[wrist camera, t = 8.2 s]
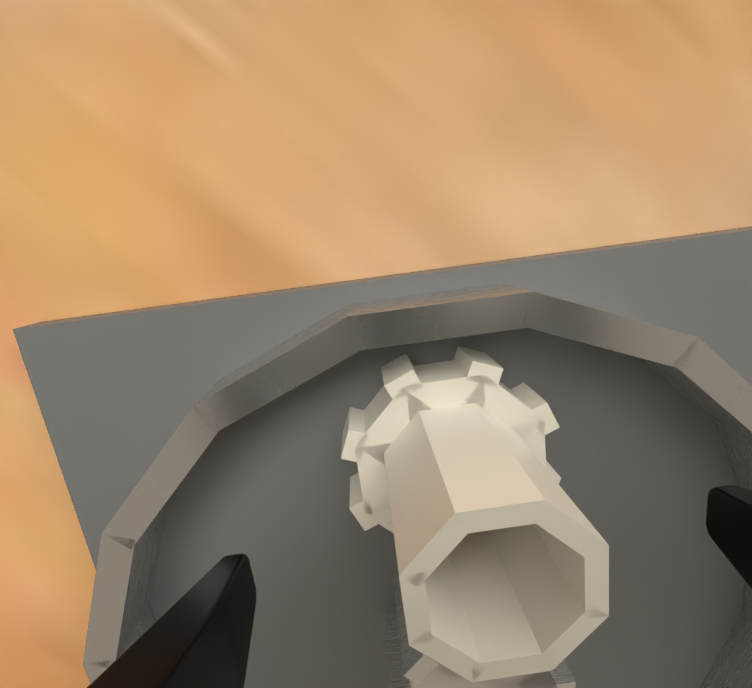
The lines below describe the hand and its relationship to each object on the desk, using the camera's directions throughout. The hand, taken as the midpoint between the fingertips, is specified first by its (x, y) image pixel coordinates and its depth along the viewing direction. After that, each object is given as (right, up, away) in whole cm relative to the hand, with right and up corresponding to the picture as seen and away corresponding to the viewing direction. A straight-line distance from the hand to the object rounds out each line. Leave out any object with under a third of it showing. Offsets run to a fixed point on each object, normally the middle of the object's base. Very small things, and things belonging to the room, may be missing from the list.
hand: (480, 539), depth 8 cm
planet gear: (0, +1, +4) cm, 4 cm away
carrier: (+1, -5, +7) cm, 8 cm away
